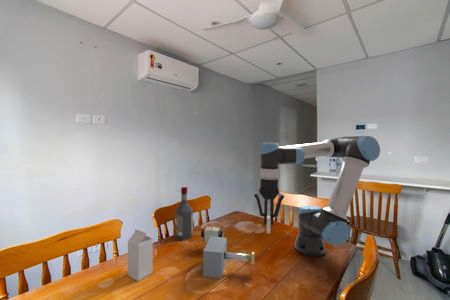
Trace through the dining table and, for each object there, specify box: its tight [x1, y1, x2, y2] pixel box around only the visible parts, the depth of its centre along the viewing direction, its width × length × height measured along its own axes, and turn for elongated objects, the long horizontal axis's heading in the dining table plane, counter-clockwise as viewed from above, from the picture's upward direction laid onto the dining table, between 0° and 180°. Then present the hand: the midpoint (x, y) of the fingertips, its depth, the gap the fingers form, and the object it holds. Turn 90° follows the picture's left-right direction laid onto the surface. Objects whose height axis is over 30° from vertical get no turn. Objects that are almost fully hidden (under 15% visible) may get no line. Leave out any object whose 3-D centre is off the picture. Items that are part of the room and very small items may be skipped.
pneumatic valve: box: [200, 226, 225, 243], centre depth 112 cm, size 6×12×12 cm, turn 79°
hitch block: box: [202, 236, 228, 279], centre depth 94 cm, size 8×14×11 cm, turn 171°
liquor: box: [174, 186, 194, 241], centre depth 125 cm, size 9×9×30 cm
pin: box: [224, 251, 256, 265], centre depth 93 cm, size 16×5×5 cm, turn 81°
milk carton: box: [127, 228, 154, 282], centre depth 89 cm, size 7×7×19 cm
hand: (268, 231), depth 90 cm, fingers closed
